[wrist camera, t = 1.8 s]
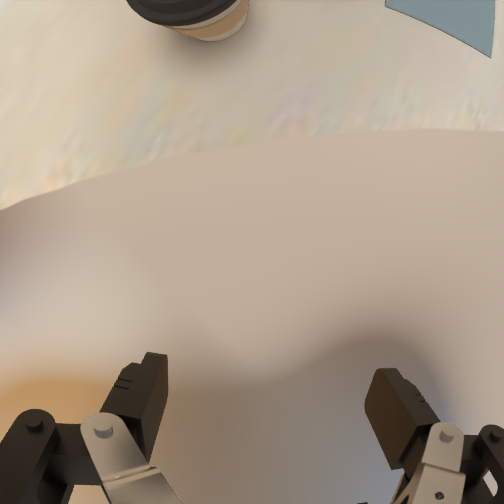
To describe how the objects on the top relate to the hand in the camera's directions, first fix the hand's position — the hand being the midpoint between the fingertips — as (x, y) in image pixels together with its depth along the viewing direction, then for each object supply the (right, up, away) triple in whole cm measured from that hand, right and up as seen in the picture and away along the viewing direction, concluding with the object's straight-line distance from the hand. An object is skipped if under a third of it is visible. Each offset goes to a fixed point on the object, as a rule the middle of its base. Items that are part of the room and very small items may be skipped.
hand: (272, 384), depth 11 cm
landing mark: (+22, +37, +10) cm, 44 cm away
